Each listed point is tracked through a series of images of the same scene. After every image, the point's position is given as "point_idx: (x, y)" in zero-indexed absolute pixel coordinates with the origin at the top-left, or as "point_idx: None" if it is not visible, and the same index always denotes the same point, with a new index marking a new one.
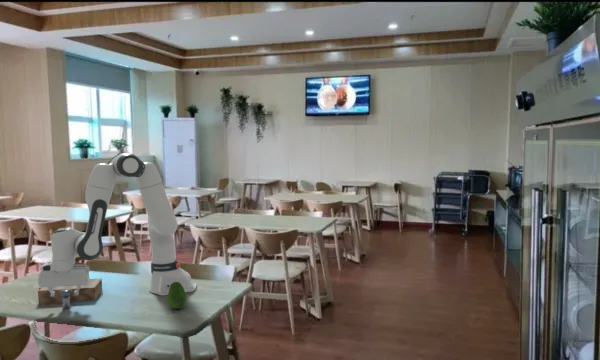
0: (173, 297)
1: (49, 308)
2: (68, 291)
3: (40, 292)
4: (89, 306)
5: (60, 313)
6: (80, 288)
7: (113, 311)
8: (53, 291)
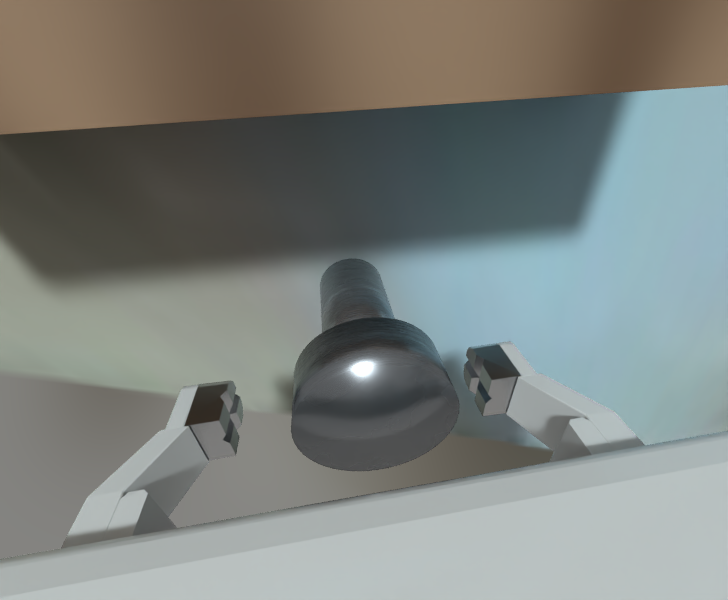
0: None
1: (191, 286)
2: (423, 443)
3: None
4: (533, 266)
5: None
6: (532, 95)
7: (665, 357)
8: (188, 428)
